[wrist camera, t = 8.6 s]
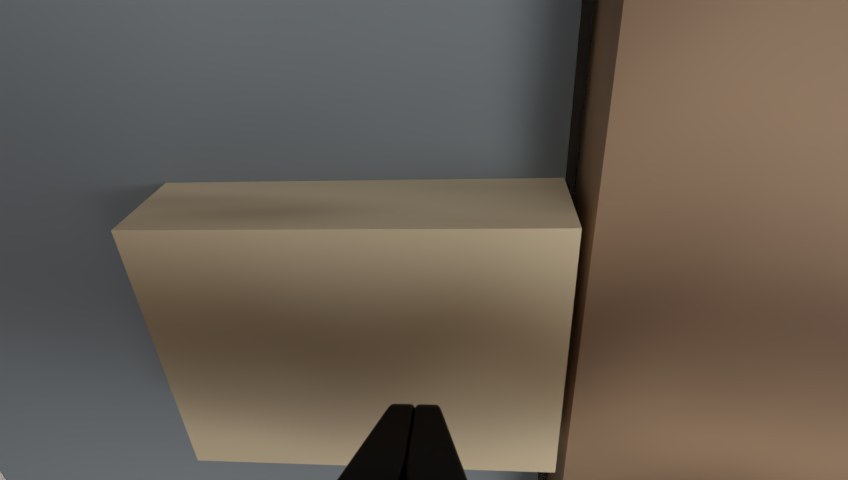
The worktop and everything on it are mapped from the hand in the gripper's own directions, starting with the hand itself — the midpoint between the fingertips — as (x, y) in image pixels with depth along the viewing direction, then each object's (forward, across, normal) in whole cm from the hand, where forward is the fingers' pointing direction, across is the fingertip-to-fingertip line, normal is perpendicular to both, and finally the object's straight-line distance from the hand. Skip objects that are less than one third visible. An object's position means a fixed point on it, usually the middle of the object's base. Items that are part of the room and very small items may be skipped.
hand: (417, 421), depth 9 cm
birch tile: (+2, +1, 0) cm, 3 cm away
